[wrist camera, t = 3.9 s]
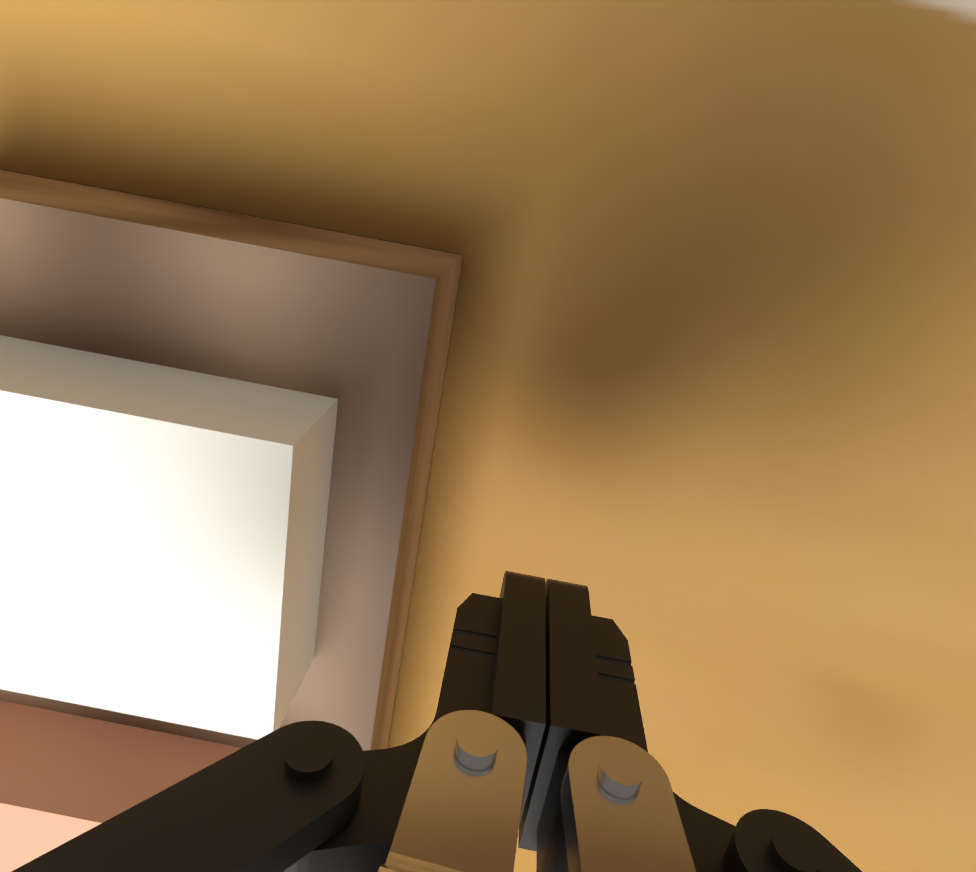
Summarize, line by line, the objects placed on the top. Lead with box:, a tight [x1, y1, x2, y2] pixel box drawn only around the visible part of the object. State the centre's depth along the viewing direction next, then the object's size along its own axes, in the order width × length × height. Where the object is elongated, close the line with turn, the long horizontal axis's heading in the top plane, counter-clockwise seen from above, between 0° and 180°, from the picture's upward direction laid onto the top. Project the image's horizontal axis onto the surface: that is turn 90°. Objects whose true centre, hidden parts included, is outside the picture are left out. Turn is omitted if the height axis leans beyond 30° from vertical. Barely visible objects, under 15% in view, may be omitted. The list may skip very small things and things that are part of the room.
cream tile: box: [0, 335, 338, 740], centre depth 13 cm, size 8×6×2 cm
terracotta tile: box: [0, 700, 241, 872], centre depth 16 cm, size 8×6×2 cm
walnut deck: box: [0, 170, 463, 751], centre depth 17 cm, size 11×20×4 cm, turn 170°
